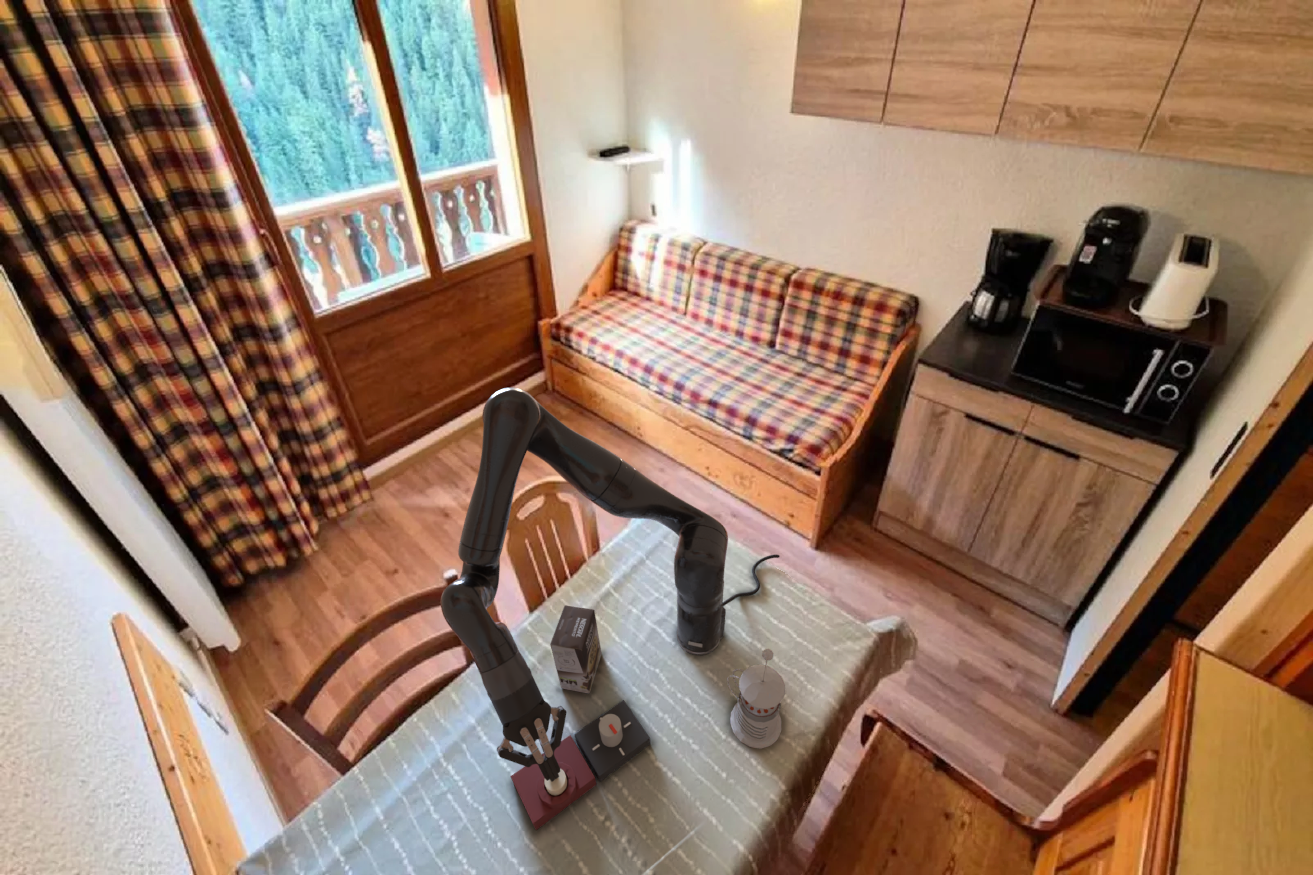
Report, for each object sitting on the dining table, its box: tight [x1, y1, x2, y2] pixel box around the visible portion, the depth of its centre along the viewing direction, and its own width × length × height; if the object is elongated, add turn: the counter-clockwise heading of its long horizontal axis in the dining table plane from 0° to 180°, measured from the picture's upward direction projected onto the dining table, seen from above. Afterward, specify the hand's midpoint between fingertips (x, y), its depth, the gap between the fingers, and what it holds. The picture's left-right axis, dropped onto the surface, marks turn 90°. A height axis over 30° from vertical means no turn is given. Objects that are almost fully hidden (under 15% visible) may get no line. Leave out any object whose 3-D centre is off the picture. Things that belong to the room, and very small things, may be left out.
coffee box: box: [549, 604, 602, 694], centre depth 114 cm, size 9×6×16 cm
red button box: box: [510, 734, 598, 831], centre depth 101 cm, size 12×10×5 cm
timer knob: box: [599, 714, 623, 747], centre depth 104 cm, size 4×4×5 cm
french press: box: [726, 648, 786, 749], centre depth 102 cm, size 10×12×25 cm
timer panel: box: [573, 699, 651, 782], centre depth 107 cm, size 11×9×3 cm
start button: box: [545, 769, 567, 795], centre depth 97 cm, size 4×4×2 cm
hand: (554, 778), depth 96 cm, fingers closed
